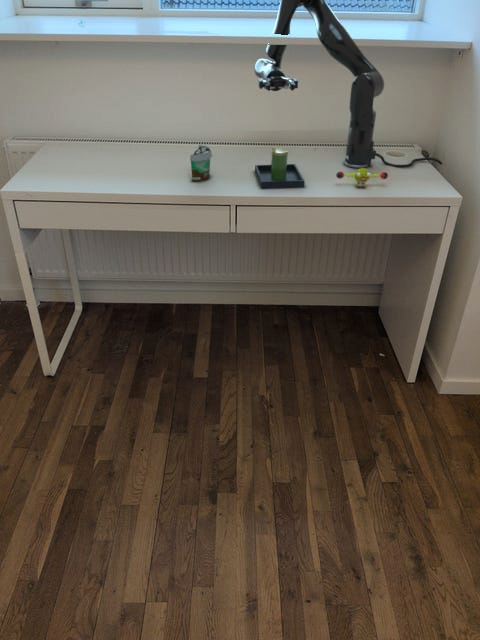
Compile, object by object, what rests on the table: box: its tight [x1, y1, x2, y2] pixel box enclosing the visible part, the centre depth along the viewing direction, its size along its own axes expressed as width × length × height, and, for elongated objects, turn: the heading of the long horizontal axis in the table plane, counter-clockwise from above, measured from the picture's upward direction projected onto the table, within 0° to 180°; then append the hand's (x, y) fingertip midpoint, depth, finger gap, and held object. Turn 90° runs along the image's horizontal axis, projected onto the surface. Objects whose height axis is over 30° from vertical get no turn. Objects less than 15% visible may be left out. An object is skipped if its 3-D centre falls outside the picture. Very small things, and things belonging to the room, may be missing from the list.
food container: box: [189, 144, 213, 183], centre depth 194 cm, size 12×6×10 cm, turn 168°
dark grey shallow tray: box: [254, 163, 305, 190], centre depth 195 cm, size 15×17×2 cm
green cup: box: [270, 147, 289, 181], centre depth 193 cm, size 6×6×10 cm
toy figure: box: [336, 167, 389, 188], centre depth 189 cm, size 18×6×7 cm, turn 90°
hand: (281, 87), depth 193 cm, fingers open, 8 cm apart
